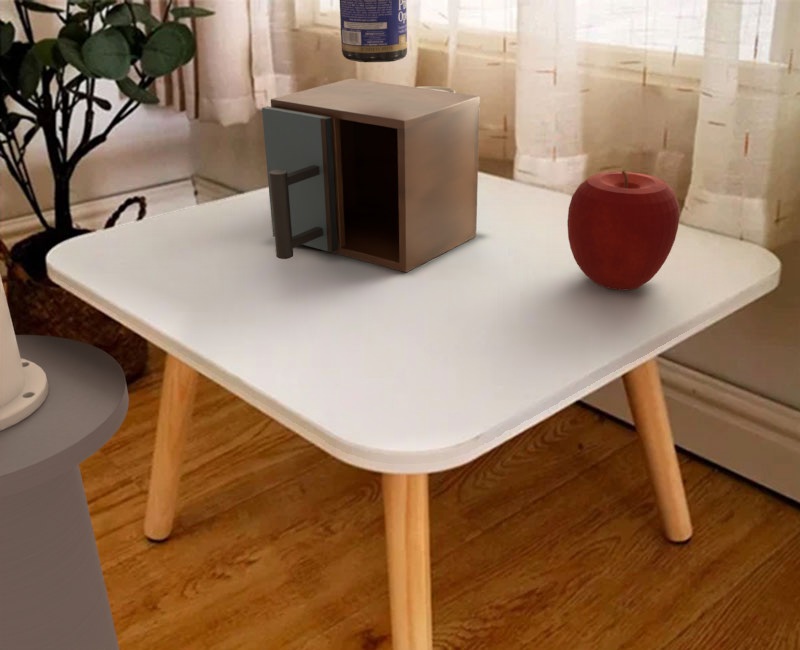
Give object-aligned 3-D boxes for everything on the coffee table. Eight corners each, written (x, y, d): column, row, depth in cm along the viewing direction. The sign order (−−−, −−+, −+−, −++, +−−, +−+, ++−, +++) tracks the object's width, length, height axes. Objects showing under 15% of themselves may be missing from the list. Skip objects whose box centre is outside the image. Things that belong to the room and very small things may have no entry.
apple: (692, 293, 83) (708, 182, 78) (596, 311, 80) (608, 196, 75) (632, 257, 91) (644, 154, 86) (543, 272, 88) (550, 165, 83)
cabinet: (406, 272, 88) (404, 120, 81) (281, 239, 97) (270, 99, 90) (476, 236, 96) (480, 96, 89) (355, 208, 105) (350, 78, 98)
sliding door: (291, 271, 87) (280, 131, 81) (231, 253, 91) (216, 119, 85) (338, 250, 92) (331, 116, 85) (278, 234, 96) (267, 106, 90)
